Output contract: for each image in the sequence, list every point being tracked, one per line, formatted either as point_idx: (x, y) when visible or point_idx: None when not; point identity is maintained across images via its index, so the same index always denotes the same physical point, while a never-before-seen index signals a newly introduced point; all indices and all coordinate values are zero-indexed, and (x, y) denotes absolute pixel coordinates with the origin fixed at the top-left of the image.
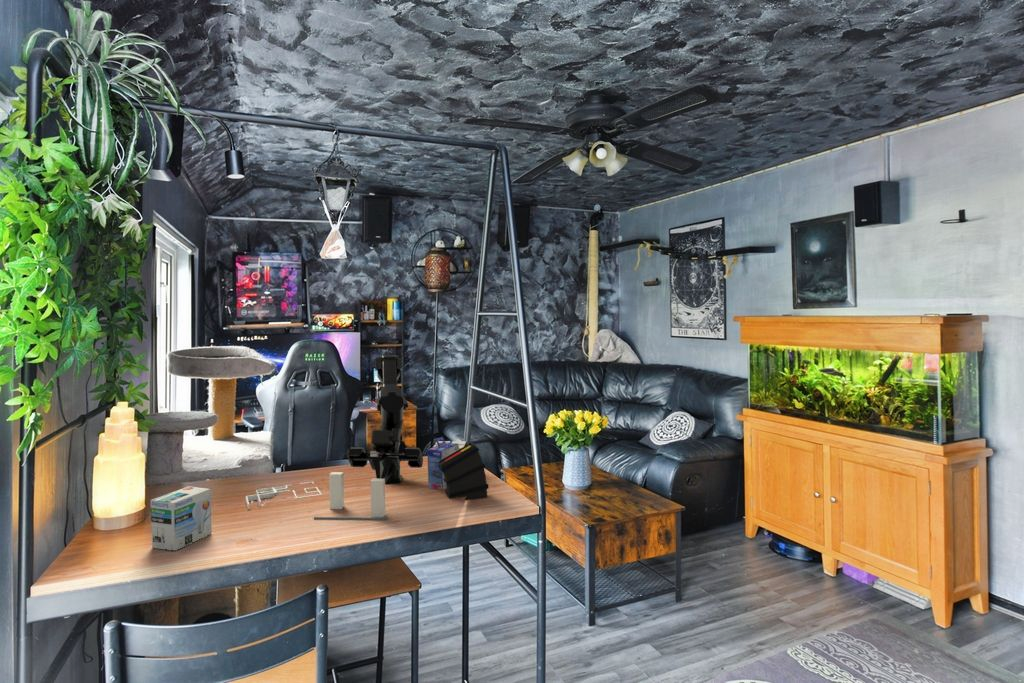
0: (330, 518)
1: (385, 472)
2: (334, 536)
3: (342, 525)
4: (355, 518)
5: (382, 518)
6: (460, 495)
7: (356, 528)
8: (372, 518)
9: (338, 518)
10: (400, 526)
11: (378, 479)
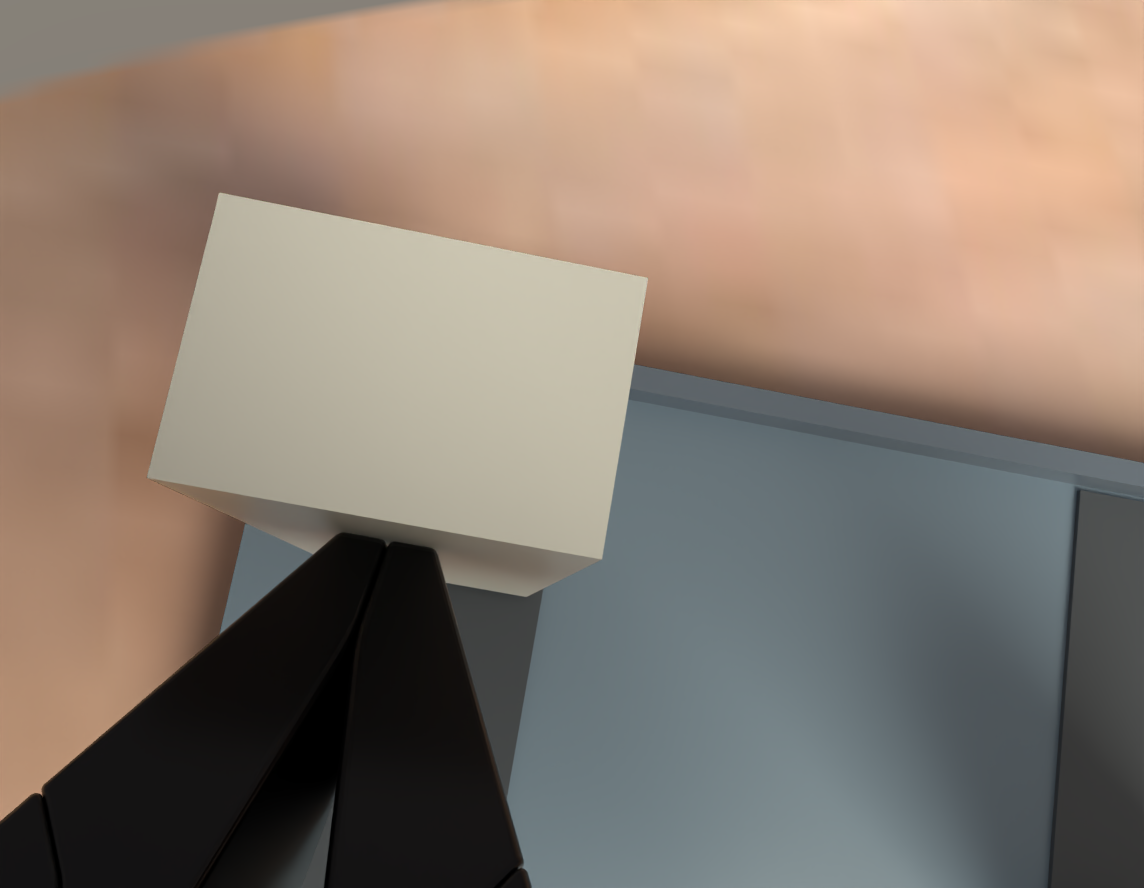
0: (1130, 462)
1: (62, 835)
2: (930, 51)
3: (913, 392)
4: (772, 395)
5: None
6: None
7: (710, 257)
8: None
9: (1017, 439)
10: (110, 229)
11: (383, 394)
